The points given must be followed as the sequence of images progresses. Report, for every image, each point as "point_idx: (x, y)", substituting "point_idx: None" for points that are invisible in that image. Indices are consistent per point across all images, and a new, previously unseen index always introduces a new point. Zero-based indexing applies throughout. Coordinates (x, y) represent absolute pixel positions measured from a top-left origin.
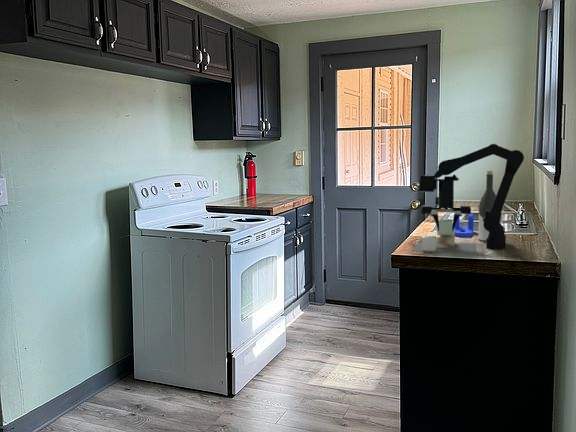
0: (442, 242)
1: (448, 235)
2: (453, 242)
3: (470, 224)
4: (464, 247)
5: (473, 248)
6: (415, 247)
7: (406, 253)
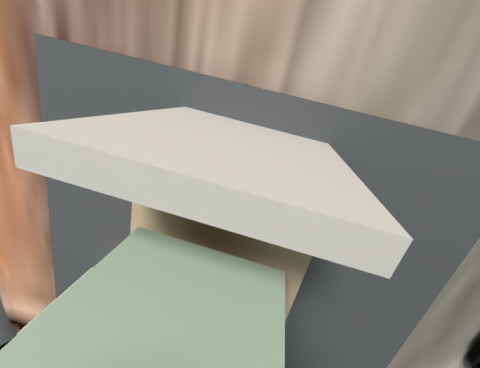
0: None
1: (241, 256)
2: None
3: None
4: (341, 298)
5: (386, 335)
6: (52, 244)
7: (38, 298)
